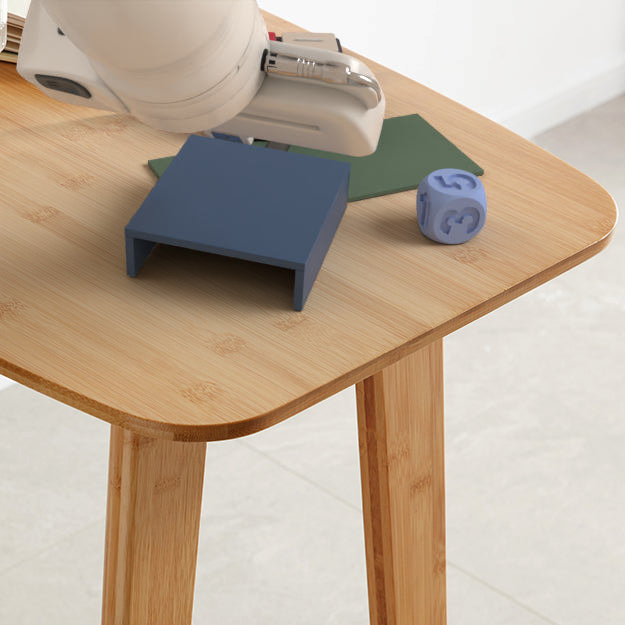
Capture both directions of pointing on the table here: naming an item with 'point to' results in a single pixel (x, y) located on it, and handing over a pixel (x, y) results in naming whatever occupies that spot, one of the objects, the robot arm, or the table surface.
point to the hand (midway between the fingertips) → (233, 129)
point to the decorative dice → (451, 206)
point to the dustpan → (244, 207)
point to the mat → (386, 158)
